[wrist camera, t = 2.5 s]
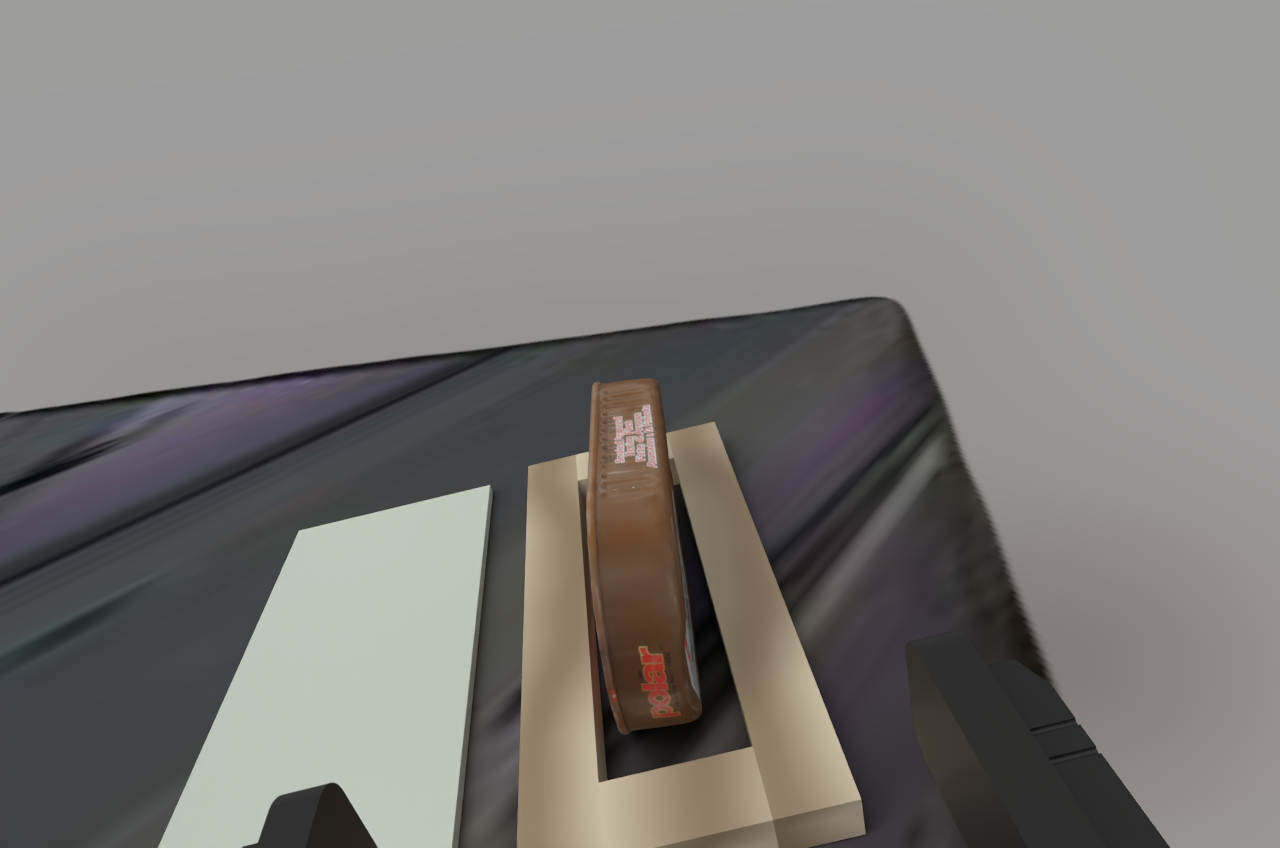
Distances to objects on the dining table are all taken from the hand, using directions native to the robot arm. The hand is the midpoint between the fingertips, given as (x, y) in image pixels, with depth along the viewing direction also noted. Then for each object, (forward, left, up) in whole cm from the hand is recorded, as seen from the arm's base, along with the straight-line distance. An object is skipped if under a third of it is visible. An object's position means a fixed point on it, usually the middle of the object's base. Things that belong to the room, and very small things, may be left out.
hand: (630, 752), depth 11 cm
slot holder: (0, +17, -12) cm, 21 cm away
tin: (0, +16, -13) cm, 21 cm away
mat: (-12, +17, -12) cm, 24 cm away
